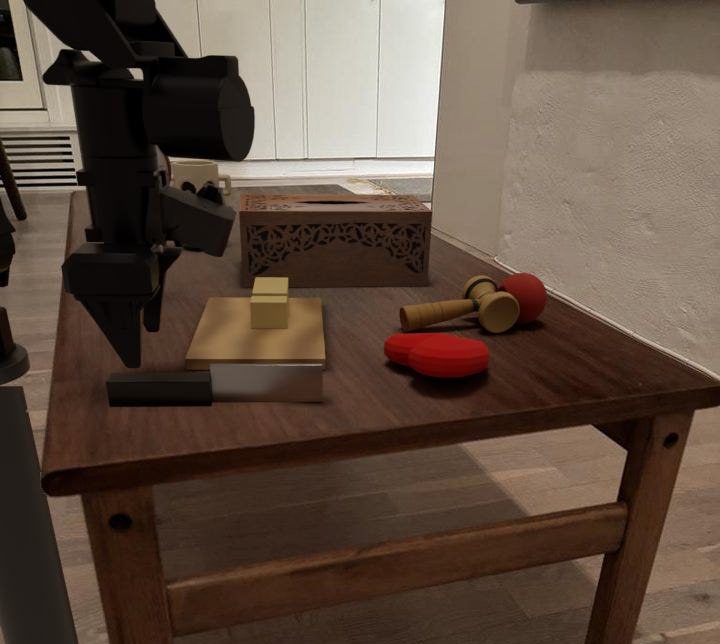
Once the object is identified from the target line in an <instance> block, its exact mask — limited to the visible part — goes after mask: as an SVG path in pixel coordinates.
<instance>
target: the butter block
mask: <svg viewBox="0 0 720 644" xmlns="http://www.w3.org/2000/svg"><path fill="white" fill-rule="evenodd" d="M289 288H290V287H289V283H288V278H277V277H256V278H255V282H254V287H253V288H252V291H251V296H287V309H289V298H290V289H289Z"/></svg>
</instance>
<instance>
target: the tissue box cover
mask: <svg viewBox="0 0 720 644" xmlns="http://www.w3.org/2000/svg"><path fill="white" fill-rule="evenodd" d="M239 195H240V196H239V197H240V198H239V207H238V217H239V237H240V255H241V271H242V272H241V273H242V288H244V289H246V288H247V289H249V288H251V289H253V287H254V282H255V278H256V277H277V278H288V283H289V288H330V287H331V288H342V287H343V288H346V287H347V288H350V287H351V288H353V287H354V288H355V287H356V288H357V287H361V288H362V287H428V285H429V284H428V283H429V269H430V255H431V254H430V253H431V239H432V237H431V236H432V225H433V211H432V210H431V209H430V208H429V207H428V206H426V204H424V203H423V202H422V201H421V200H419V198H418V197H416V196H414V195H413V194H355V193H353V194H351V193H350V194H349V193H348V194H346V193H345V194H344V193H343V194H338V193H337V194H333V193H331V194H328V193H327V194H326V193H318V194H317V193H316V194H315V193H240V194H239Z"/></svg>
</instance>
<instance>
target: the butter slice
mask: <svg viewBox="0 0 720 644" xmlns="http://www.w3.org/2000/svg"><path fill="white" fill-rule="evenodd" d="M250 298H251V301H250V311H251V328H252V329H287V327H288V309H287V296H252V295H251V297H250Z"/></svg>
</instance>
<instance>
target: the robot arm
mask: <svg viewBox="0 0 720 644" xmlns="http://www.w3.org/2000/svg"><path fill="white" fill-rule="evenodd" d="M22 2H23V4H24V5H25V7H26V9H28V11H30V13H31V14H32V15H34V16H35V17H36V19H38V21H39V22H40V23H41V24H42V25H43V26H44V27H45V28H47V29H48V30H49V32H51V33H52V35H54V36H55V37H56V38H57V40H58V41H60V42H61V43H62V44H63V45H65V46H66V47H68V48H61V49H60V50H59V52H58V55H57V57H56V59H55V60H54V62H53V63H52V64H51V65H49V66H48V67H47V69H46V70H45V71H44V73H43V74H42V76H41V79H42V82H43V84H45V85H46V86H47V85H48V86H63V87H69V88H70V94H71V100H72V106H73V114H74V120H75V127H76V133H77V139H78V146H79V147H78V148H79V153H80V160H81V167H82V168H80V169H79V170H76V171H75V177H76V184H77V187H85V193H86V194H85V195H86V199H87V207H88V214H89V219H90V224H89V225H87V226H86V227H85V228H84V235H85V242H84V243H82V244H81V245H80V246H79V247H78V248H76V249H75V250H74V251H72V252H71V254H70V255H69V256H68V257H67V259H66V260H65V261H64V262H63V263H62V264H61V265H60V269H61V274H62V280H63V286H64V292H65V293H68V294H69V295H72V296H73V298H74V300H75V301H76V302H80V304H81V305H82V307H84V309H85V310H86V312H87V313H88V314H89V316H90V317H91V319H92V320H93V321H94V322H95V324H96V325H97V326H98V328H99V329H100V331H101V332H102V334H103V335H104V337H105V338H106V340H107V341H108V343H109V344H110V346H111V347H112V348H113V350H114V351H115V353H116V354H117V356H118V357H119V359H120V360H121V362H122V363H123V365H124V366H125V367H126V369H139V368H140V367H141V365H142V352H143V334H144V332H143V331H144V329H145V330H146V332H147V333H158V332H159V331H160V330H161V320H162V314H163V313H162V312H163V305H164V296H165V290H166V289H165V288H166V281H167V273H168V270H169V269H170V268H171V267H172V266H173V264H175V262H176V261H177V260H178V259H179V258H180V257H181V254H182V253H183V251H184V248H183V246H184V243H186V244H188V245H191V246H194V247H196V249H199V250H201V251H203V253H204V254H205V255H209V256H211V257H216V258H222V257H224V255H225V252H226V249H227V247H228V243H229V239H230V237H231V233H232V229H233V227H234V224H235V220H236V216H237V211H236V210H234V207H233V206H230V205H228V206H227V204H226V200H225V196H224V193H223V190H224V189H223V188H222V187H220V186H219V187H218V186H215V185H213V184H210V183H205V185H204V186H203V187H202V188H201V189H200V190H199V191H198V192H197V193H196V194H192V193H191V191H189V190H186V191H182V190H180V189H177V188H174V187H171V186H170V184H169V174H168V170H164V165H159V160H158V154H157V153H158V150H157V146H158V148H159V149H160V150H161V152H162V153H163V154H165V155H166V156H168V157H169V158H174V159H187V160H206V161H219V162H220V161H221V162H235V163H240V162H243V161H244V160H245V159H247V157H248V156H249V154H250V151H251V149H252V147H253V142H254V136H255V128H256V117H255V116H256V115H255V107H254V106H253V105H252V102H251V97H250V93H249V89H248V87H247V85H246V83H245V81H244V80H243V78H242V77H241V75H240V66H239V58H238V57H237V56H236V55H226V54H225V55H223V54H222V55H220V54H208V55H205V56H202V57H189V55H188V54H187V53H186V52H185V50H184V48H183V47H182V45H181V44H180V42H179V40H178V39H177V38H176V36H175V35H174V33H173V31H172V30H171V28H170V27H169V25H168V24H167V22H166V21H165V19H164V18H163V16H162V15H161V13H160V12H159V10H158V8H157V6H156V5H157V4H156V0H22ZM83 52H89V53H90V54H92V55H93V56H94V57H95V58H96V59H98V60H99V61H97V60H95V61H94V60H90V59H89V58H87V56H86V55H85V54H84V53H83ZM129 69H139V70H141V73H142V78H136V77H134V75H133V74H132V72H131V71H130V70H129ZM16 232H17V229H16V227H14V225H13V223H12V222H11V221H10V218H9V217H8V216H7V213H6V211H5V208H4V204H3V201H2V197H1V196H0V288H6V287H8V286H9V281H10V272H11V265H12V262H13V258H14V256H15V255H16V243H15V240H14V237H13V234H14V233H16ZM168 242H173V243H174V246H168ZM9 320H10V319H9V315H8V310H7V308H6V307H5V306H0V363H1V362H2V361H3V360H4V359H5V358H6V357H7V356H8V355H9V354H10V353H11V352H12V351H13V350H14V349H15V348H16V344H17V343H16V342H14V338H13V333H12V329H11V323H10V321H9ZM143 328H144V329H143Z"/></svg>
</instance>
